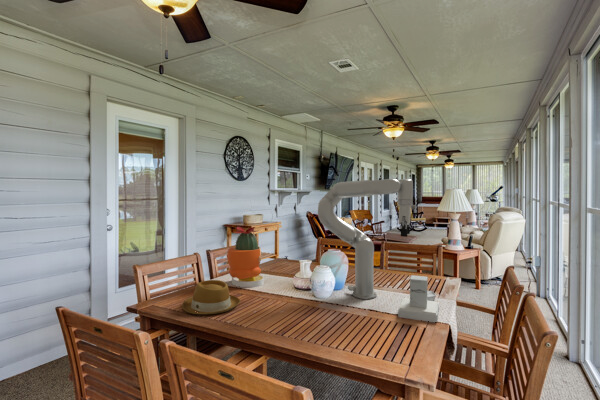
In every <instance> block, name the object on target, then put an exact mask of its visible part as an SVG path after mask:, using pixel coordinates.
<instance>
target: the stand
mask: <svg viewBox="0 0 600 400" xmlns="http://www.w3.org/2000/svg"><path fill="white" fill-rule="evenodd" d="M439 311H440V303H439V302H438V301H435V300H434V301H428V300H427V308H422V307H414V306H410V297H404V298H403V299H402V301H401V303H400V306H399V308H398V311H397V313H398V314H397V317H398V318H404V319H410V320H414V321H415V320H416V321H421V320H422V321H423V322H428V321H429V322H428V323H435V322H437V323H438V320H439V313H438V312H439Z"/></svg>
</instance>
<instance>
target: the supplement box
mask: <svg viewBox="0 0 600 400" xmlns="http://www.w3.org/2000/svg"><path fill="white" fill-rule="evenodd" d="M428 278H429V277H428V276H425V275H424V276H423V275H413V274H412V275H410V278H409V298H410V306H414V307H422V308H427V290H428V285H429V284H428V280H429V279H428Z"/></svg>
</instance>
